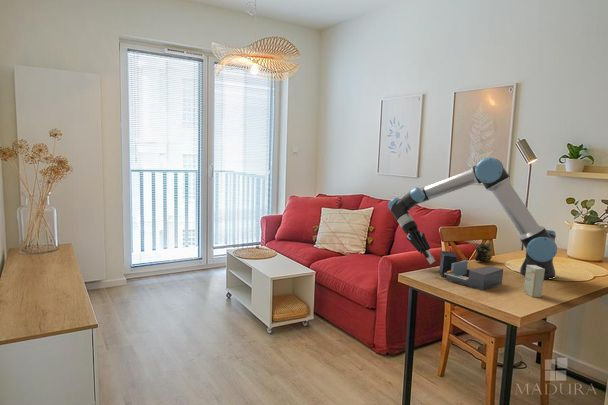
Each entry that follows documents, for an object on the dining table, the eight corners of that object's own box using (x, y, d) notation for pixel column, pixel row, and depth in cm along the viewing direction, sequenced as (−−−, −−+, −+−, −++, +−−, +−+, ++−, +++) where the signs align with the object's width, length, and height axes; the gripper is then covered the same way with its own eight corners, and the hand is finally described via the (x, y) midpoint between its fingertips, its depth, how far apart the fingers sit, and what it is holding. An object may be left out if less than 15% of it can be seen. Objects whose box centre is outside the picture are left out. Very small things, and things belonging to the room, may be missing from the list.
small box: (456, 278, 192) (457, 256, 190) (441, 277, 193) (443, 255, 192) (452, 272, 202) (454, 251, 201) (438, 271, 203) (440, 250, 202)
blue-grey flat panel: (466, 273, 196) (467, 260, 195) (447, 279, 186) (449, 265, 185) (464, 273, 197) (465, 260, 196) (445, 278, 187) (447, 264, 186)
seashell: (466, 258, 230) (468, 241, 229) (485, 258, 232) (487, 241, 231) (476, 263, 220) (478, 245, 219) (496, 263, 221) (498, 245, 220)
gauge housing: (501, 284, 185) (503, 269, 184) (481, 291, 174) (482, 275, 173) (465, 274, 199) (466, 260, 198) (443, 280, 188) (444, 265, 187)
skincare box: (522, 292, 175) (525, 264, 173) (532, 292, 175) (535, 264, 173) (532, 297, 168) (535, 268, 167) (542, 297, 169) (545, 268, 167)
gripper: (411, 227, 221) (435, 264, 210) (395, 229, 213) (420, 268, 202) (419, 219, 216) (445, 256, 205) (404, 220, 208) (429, 260, 197)
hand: (432, 262), depth 203 cm, fingers closed
